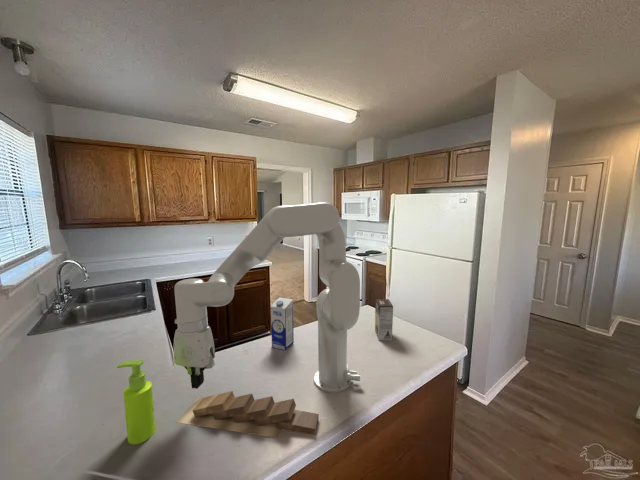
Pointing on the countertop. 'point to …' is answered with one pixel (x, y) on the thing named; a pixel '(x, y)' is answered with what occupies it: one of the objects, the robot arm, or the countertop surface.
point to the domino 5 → (300, 422)
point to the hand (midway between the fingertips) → (197, 385)
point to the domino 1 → (213, 404)
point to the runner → (228, 423)
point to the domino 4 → (278, 412)
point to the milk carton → (282, 323)
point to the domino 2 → (236, 407)
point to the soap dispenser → (138, 404)
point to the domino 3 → (256, 410)
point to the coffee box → (383, 319)
